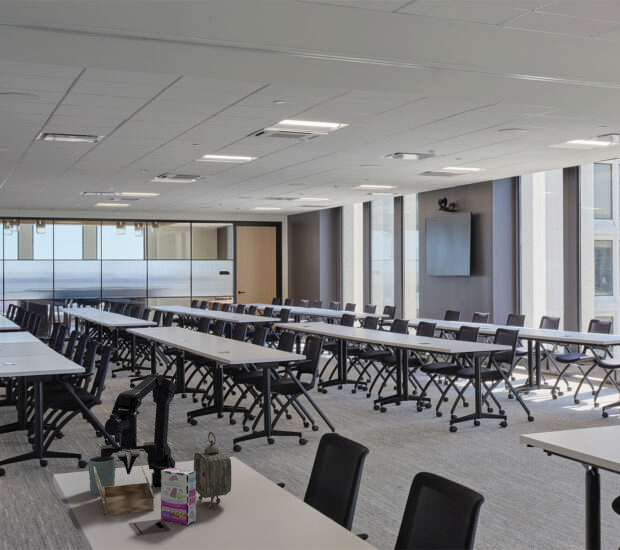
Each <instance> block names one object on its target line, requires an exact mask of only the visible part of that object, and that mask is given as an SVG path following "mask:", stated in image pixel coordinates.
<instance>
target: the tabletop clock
mask: <svg viewBox="0 0 620 550" xmlns="http://www.w3.org/2000/svg"><path fill="white" fill-rule="evenodd" d="M207 435H208V436H207V438H208V443H209V445H207V446H206V447H205V448H204V451H198V452H197V451H196V452H194V456H193V458H194V459H193V471H196V493H197V494H198V495H199V496H198V497H197V499H198V500H199V501H203V498H204V499H207V498H210V502H209V504H208V509H209V510H212V509H213V507H214V505H213V501H214V499H215V502H216V503H217V504H219V503H221V498H219V497H221V496H226V495H227V494H229V493H230V492H231V491H232V462H231V458H230V456H228V455H227V454H226V453H223V452H222V451H220V450H219V447H218V446H217V445H215V444H216V442H217V439H216V434H215V433H214V432H213V431H209V432H208V434H207ZM210 435H212V437H213V439H210Z"/></svg>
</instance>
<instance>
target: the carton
mask: <svg viewBox="0 0 620 550" xmlns="http://www.w3.org/2000/svg"><path fill="white" fill-rule="evenodd" d="M102 491H103V497H104V502H105V503H104V504H103V501H102V500H101V501H102V507H103V514H104V516H113V515H114V516H115V515H124V514H133V513H143V512H153V511H155V507H154V506H155V498H153V496H152V493H151V491H150V488H149V486H148V483H147V482H142V483H141V482H140V483H129V484H128V483H127V484H119V485H118V484H117V485H115V486H106V487H102Z"/></svg>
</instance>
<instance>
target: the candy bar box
mask: <svg viewBox="0 0 620 550" xmlns="http://www.w3.org/2000/svg"><path fill="white" fill-rule="evenodd" d="M160 520H161V521H163V522H168V523H174V524H179V525H185V526H189V525H192V524H194V523H196V522H197V491H196V471H194V470H190V469H184V468H183V469H182V468H177V467H175V468H167V469H164V470H162V471H161V487H160Z"/></svg>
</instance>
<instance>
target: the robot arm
mask: <svg viewBox="0 0 620 550" xmlns="http://www.w3.org/2000/svg"><path fill="white" fill-rule="evenodd" d="M176 391H177V386H176V384H175V383H174V381H173V380H170V379H168V378H165V377H164V376H162V375H160V374H155V373H154V374H152V373H151V374H148V375H146V378H144V379H143V380H142V381H140V382H139V383H138V384H137V385H135V386H134V387H133V388H132V389H129V390H124V391H123V392H120V393H119V394H118V395H117V397H116V400H115V402H114V405H113V407H112V411H111V414H110V415H109V419H107V420H106V421H105V422H104V423H105V424H104V431H105V432H106V434H108V435H110V436H114V437H113V438H114V441H113V443H114V444H118V446H117V447H116V446H115V447H113V445H112V444H108V445H107V444H106V445H101V446H100V450H99V451H100V452H99V454H100V455H99V456H101V457H111V456H113V454H116V455H117V458H118V459H121V460H122V463H123V465H124V468H125V470H126V474H127V475H130V474H131V472H132V469H133V466H134V463H135V461H136V459H137V458H139V457H140V456H141V455H140V452H145V453H146V454H147V457H146V459H147V465H148V469H149V470H152V471H153V472H151V485H152V486H153V488H154V489H156V488H157V489H158V488H159V489H160V488H161V471H162V470H164V469H167V468H176V461H175V459H174V458H173V457H172V450H171V448H170V446H169V443H168V433H169V432H168V431H169V417H170V416H169V415H170V404H171V402H172V401H173V399H174V398H175V394H176ZM150 393H152V397H153V400H154V402H155V404H156V406H155V422H154V433H153V436H154V437H153V441H148V442H143V445H138V438H137V437H138V436H137V435H138V432H137V431H138V428H137V427H138V426H137V423H138V422H137V421H138V419H137V418H138V417H137V416H138V415H140V411H139V410H138V409H139V408H140V406H141V405H142V403H143V401H142V400H143V399H144V398H145V397H147V395H149V394H150ZM127 453H129V460H128V455H127ZM128 461H129V462H128Z"/></svg>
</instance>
